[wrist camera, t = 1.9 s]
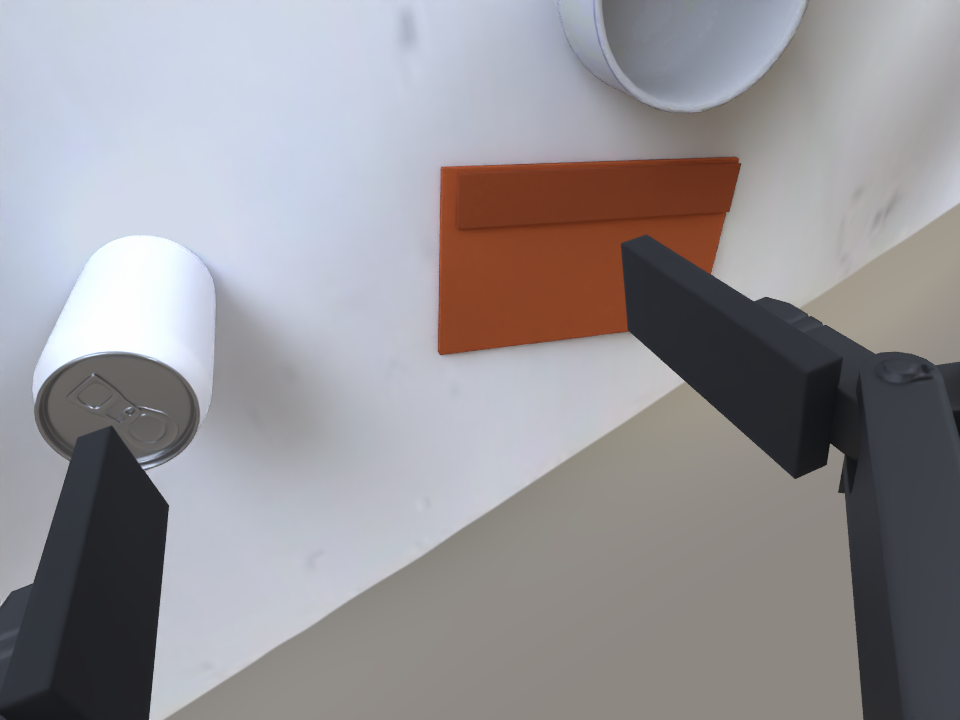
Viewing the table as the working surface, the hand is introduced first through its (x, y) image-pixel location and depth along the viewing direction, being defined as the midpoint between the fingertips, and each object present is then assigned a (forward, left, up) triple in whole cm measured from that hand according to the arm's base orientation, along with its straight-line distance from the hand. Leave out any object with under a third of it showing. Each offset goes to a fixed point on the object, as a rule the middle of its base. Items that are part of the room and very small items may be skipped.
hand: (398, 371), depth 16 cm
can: (-9, -6, -22) cm, 24 cm away
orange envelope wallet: (+17, -6, -22) cm, 28 cm away
